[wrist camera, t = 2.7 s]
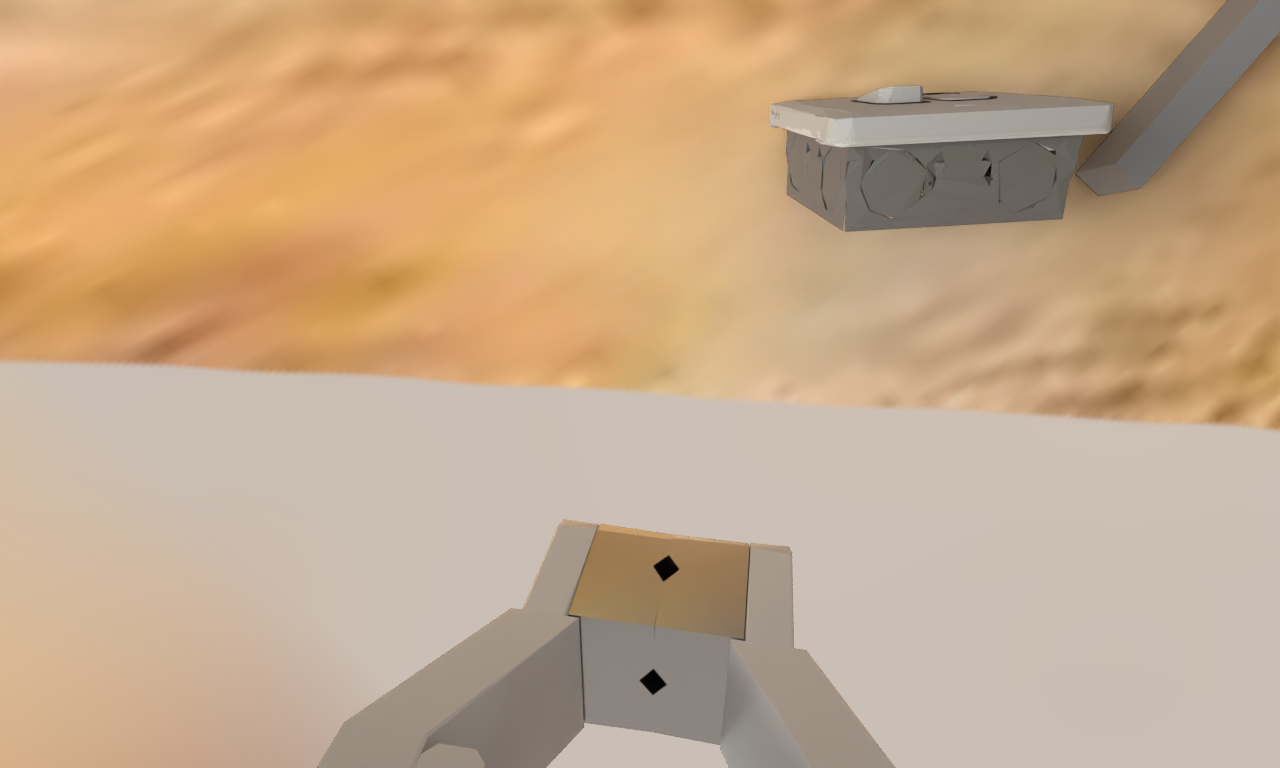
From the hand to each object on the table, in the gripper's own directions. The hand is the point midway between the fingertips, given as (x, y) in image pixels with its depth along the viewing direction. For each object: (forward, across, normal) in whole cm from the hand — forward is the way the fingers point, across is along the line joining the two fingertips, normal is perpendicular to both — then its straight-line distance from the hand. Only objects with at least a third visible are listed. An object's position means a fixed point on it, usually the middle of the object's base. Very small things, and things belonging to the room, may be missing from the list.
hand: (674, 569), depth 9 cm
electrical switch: (+26, -6, 0) cm, 27 cm away
